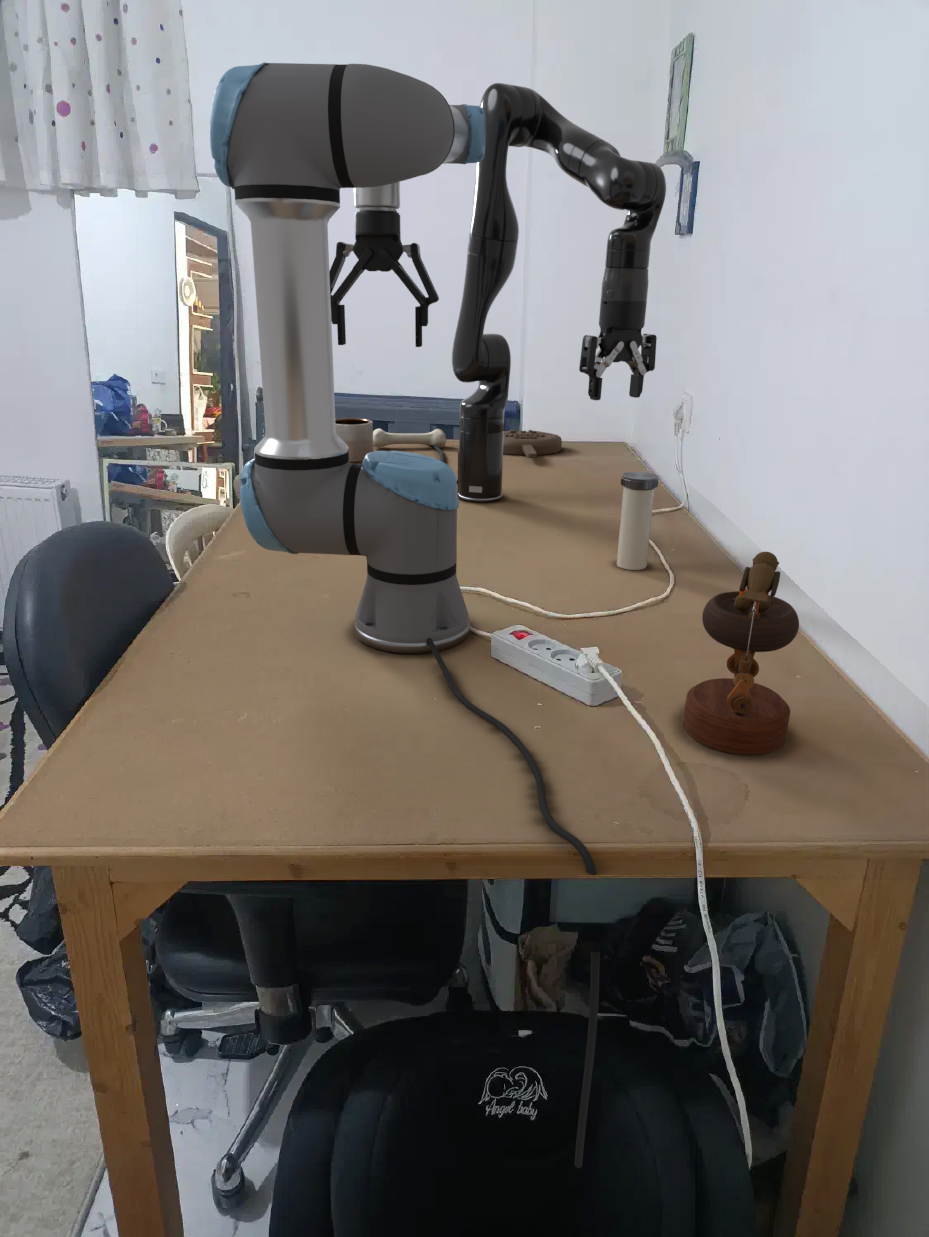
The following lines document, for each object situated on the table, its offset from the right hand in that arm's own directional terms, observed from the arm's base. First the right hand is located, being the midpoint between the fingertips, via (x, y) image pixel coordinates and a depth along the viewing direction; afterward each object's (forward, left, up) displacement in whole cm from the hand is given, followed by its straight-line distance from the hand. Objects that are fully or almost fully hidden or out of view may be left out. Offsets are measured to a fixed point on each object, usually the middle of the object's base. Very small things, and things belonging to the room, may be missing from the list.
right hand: (614, 398), depth 145 cm
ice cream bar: (-71, +29, -25) cm, 81 cm away
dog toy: (-91, +4, -25) cm, 95 cm away
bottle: (+15, -6, -25) cm, 30 cm away
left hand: (-24, -33, +8) cm, 42 cm away
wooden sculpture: (+62, -31, -25) cm, 74 cm away
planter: (-82, -16, -25) cm, 88 cm away
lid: (+15, -6, -10) cm, 19 cm away
